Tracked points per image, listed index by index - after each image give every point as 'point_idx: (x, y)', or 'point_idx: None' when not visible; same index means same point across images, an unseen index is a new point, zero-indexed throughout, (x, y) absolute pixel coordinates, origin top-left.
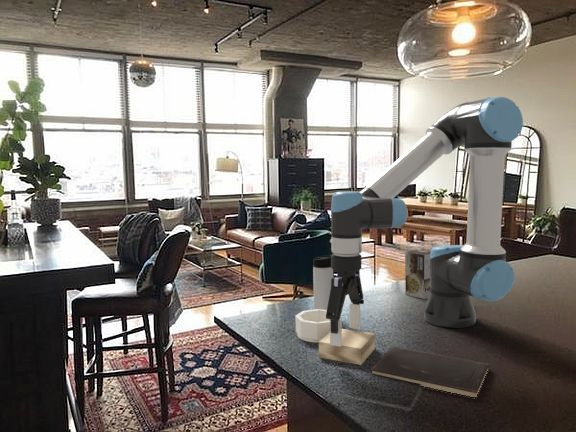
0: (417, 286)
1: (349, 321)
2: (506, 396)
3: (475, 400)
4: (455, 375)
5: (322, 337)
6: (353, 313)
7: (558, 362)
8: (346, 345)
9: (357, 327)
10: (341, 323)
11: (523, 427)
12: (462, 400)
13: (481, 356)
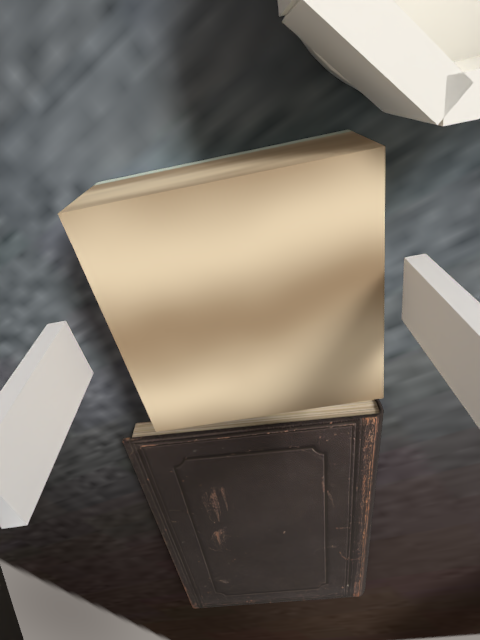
0: None
1: (425, 280)
2: (245, 607)
3: None
4: (245, 576)
5: (312, 45)
6: (459, 350)
7: (466, 625)
8: (137, 371)
9: (406, 316)
10: (39, 492)
11: (150, 631)
12: (172, 576)
13: (446, 552)
